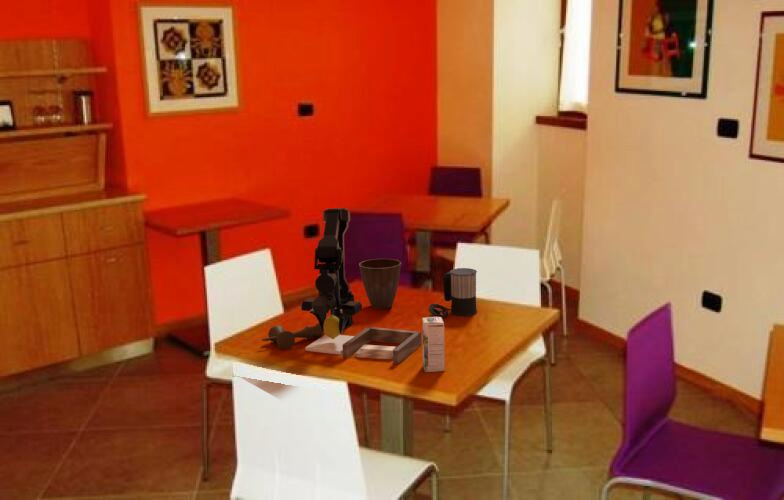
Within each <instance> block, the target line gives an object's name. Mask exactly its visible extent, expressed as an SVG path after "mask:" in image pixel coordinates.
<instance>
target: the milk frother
mask: <svg viewBox="0 0 784 500" xmlns="http://www.w3.org/2000/svg"><path fill="white" fill-rule="evenodd" d="M477 272H478V271H477V270H476V269H474V268H470V267H469V268H468V267H467V268H466V267H459V268H453V269H451V270H449V271H448V272H446V273H444V275H443V276H442V277H443V278H442V286H443V287H442V288H443V298H444V301H446V302H451V304H450V308H448V307H446V306H444V305H442V304H441V305H440V304H437V303H432V304H430V305H429V306H428V311H429V313H430V314H431V315H432V316H433V317H441V318H447V317H448V316H449V313H450V314H452V315H456V316H460V317H461V316H464V317H465V316H466V317H467V316H473V315H475V314H477V313H478V309H477ZM449 311H450V312H449ZM442 312H444V313H442Z"/></svg>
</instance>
